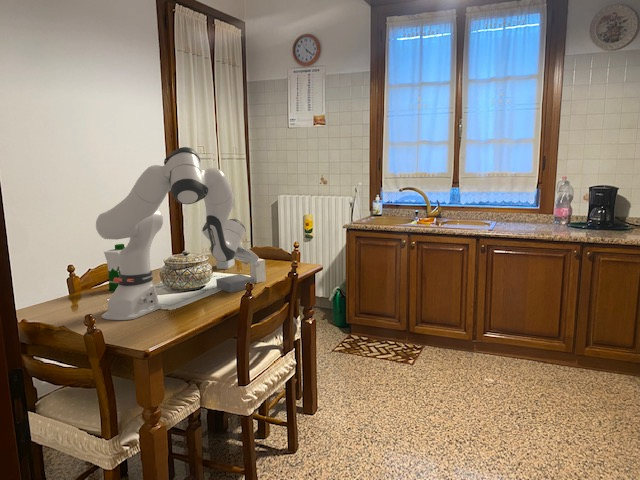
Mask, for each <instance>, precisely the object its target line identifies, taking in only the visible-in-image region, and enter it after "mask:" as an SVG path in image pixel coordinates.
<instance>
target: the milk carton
mask: <svg viewBox="0 0 640 480" xmlns="http://www.w3.org/2000/svg"><path fill="white" fill-rule="evenodd" d="M125 247H126V246H125V244H124V243H118V244H114V248H112V249H108V250H105V251H103V254H104V257H105V260H106V265H107V274H108V291H110V292H115V290H116V289H117V287H118V285H119V284H118V283H114V281H113V279H114V278H115V277H116V278H119V275H120V264H119V254H120V252H121V250H122V249H124V248H125Z"/></svg>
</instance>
